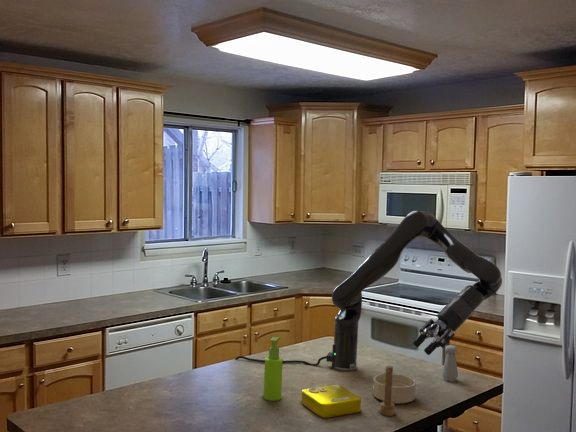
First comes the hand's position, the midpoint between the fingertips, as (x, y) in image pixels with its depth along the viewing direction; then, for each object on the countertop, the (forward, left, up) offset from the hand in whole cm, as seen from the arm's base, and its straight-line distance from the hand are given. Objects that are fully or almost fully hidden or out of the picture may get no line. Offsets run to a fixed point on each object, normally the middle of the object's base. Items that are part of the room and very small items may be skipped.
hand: (420, 349), depth 187 cm
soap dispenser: (-47, -4, -21) cm, 52 cm away
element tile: (-27, -6, -21) cm, 35 cm away
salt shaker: (+11, +36, -21) cm, 43 cm away
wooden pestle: (-9, -5, -20) cm, 23 cm away
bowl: (-8, +10, -20) cm, 24 cm away
